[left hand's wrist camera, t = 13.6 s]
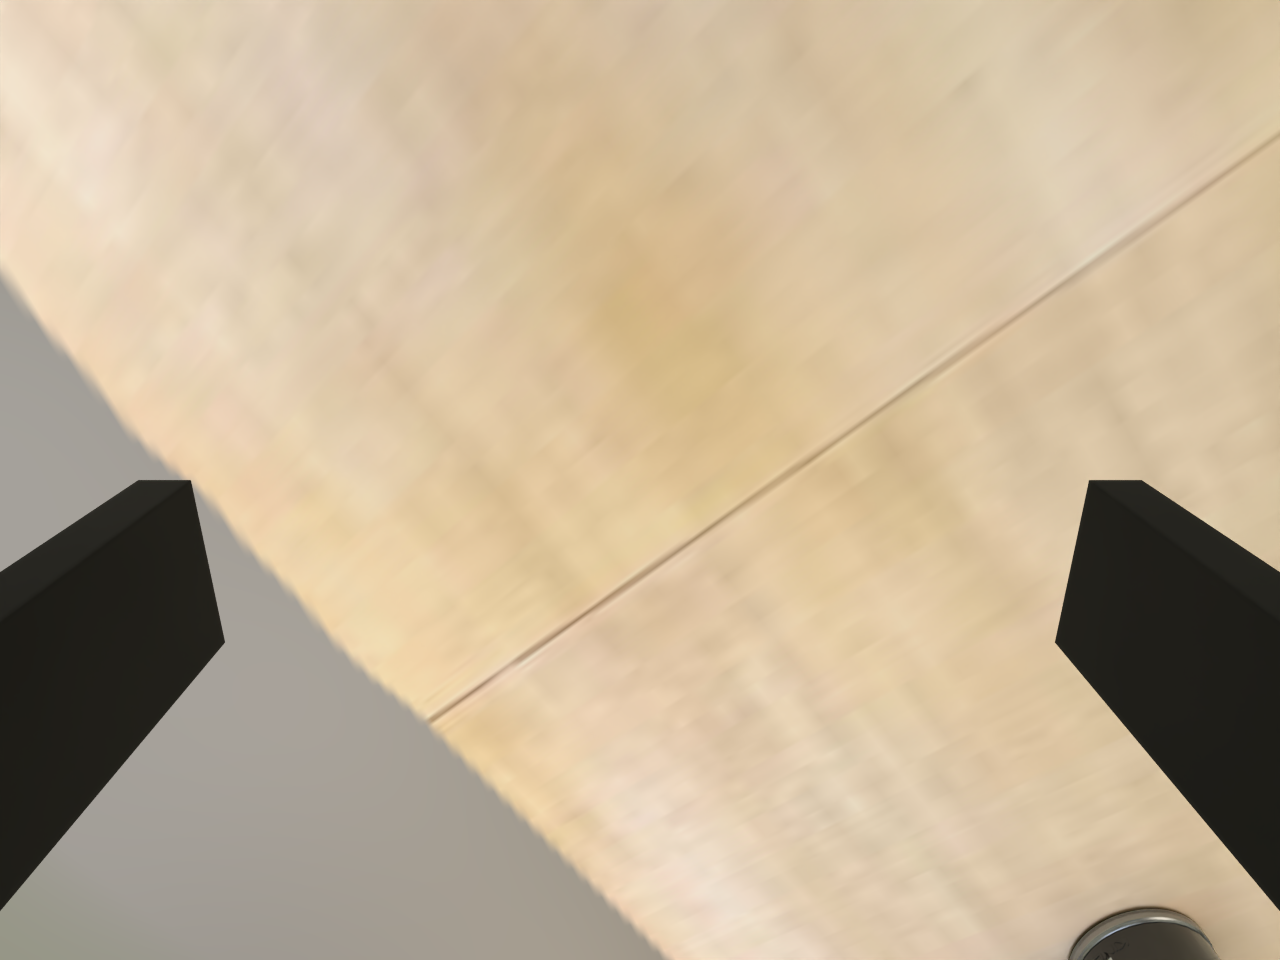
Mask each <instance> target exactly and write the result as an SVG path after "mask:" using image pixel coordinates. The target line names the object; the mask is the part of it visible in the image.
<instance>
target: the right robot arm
mask: <svg viewBox="0 0 1280 960" xmlns="http://www.w3.org/2000/svg"><path fill="white" fill-rule="evenodd" d="M1069 960H1221V959H1220V958H1219V957H1218V955H1217V954H1216V952H1215V951H1214V949H1213V947H1212V944H1211V943H1210V941H1209V940H1208V938H1207V937H1206V936H1205V934H1204V933H1203V931H1202V930H1201V929H1200V927H1199V926H1198V925H1197V924H1196V923H1195V922H1194V921H1192V920H1191V919H1190V918H1188V917H1186V916H1184V915H1182V914H1180V913H1177V912H1174V911H1169V910H1163V909H1140V910H1134V911H1129V912H1125V913H1122V914H1119V915H1116V916H1113V917H1111V918H1109V919H1107V920H1105V921H1103V922H1101V923H1099V924H1098V925H1096V926H1095V927H1093V928H1092V929H1091V930H1089V931H1088V932H1087V933H1086V934H1085V935H1084V936H1083V937H1082V938H1081V939H1080V940H1079V942H1078V943H1077V944H1076V946H1075V947H1074V949H1073V951H1072V953H1071V956H1070V959H1069Z"/></svg>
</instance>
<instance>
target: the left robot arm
mask: <svg viewBox="0 0 1280 960" xmlns="http://www.w3.org/2000/svg"><path fill="white" fill-rule="evenodd" d="M224 643H225V640H224V635H223V631H222V626H221V621H220V616H219V612H218V607H217V602H216V598H215V593H214V588H213V583H212V579H211V574H210V569H209V564H208V560H207V555H206V550H205V545H204V541H203V536H202V531H201V526H200V522H199V517H198V512H197V507H196V503H195V498H194V493H193V488H192V484H191V480H138V481H137V482H135V483H134V484H132V485H131V486H129V487H128V488H126V489H124V490H123V491H121V492H120V493H119V494H117V495H116V496H114V497H113V498H111V499H109V500H108V501H106V502H105V503H103V504H102V505H100V506H99V507H97V508H96V509H94V510H93V511H91V512H90V513H88V514H87V515H85V516H84V517H82V518H81V519H79V520H78V521H76V522H75V523H73V524H72V525H70V526H69V527H67V528H66V529H64V530H63V531H61V532H60V533H58V534H57V535H55V536H54V537H52V538H51V539H49V540H48V541H46V542H45V543H43V544H42V545H40V546H39V547H37V548H36V549H34V550H33V551H31V552H30V553H28V554H27V555H25V556H24V557H22V558H21V559H19V560H18V561H16V562H15V563H13V564H12V565H10V566H9V567H7V568H6V569H4V570H3V571H1V572H0V910H1V909H2V908H3V907H4V906H5V905H6V903H7V902H8V901H9V900H10V899H11V897H12V896H13V895H14V894H15V893H16V891H17V890H18V889H19V888H20V887H21V885H22V884H23V883H24V882H25V881H26V879H27V878H28V877H29V876H30V875H31V874H32V872H33V871H34V870H35V869H36V868H37V866H38V865H39V864H40V863H41V862H42V860H43V859H44V858H45V857H46V856H47V854H48V853H49V852H50V851H51V850H52V848H53V847H54V846H55V845H56V844H57V842H58V841H59V840H60V839H61V838H62V836H63V835H64V834H65V833H66V832H67V831H68V829H69V828H70V827H71V826H72V825H73V823H74V822H75V821H76V820H77V819H78V817H79V816H80V815H81V814H82V813H83V811H84V810H85V809H86V808H87V807H88V805H89V804H90V803H91V802H92V801H93V799H94V798H95V797H96V796H97V795H98V793H99V792H100V791H101V790H102V789H103V787H104V786H105V785H106V784H107V783H108V782H109V780H110V779H111V778H112V777H113V776H114V774H115V773H116V772H117V771H118V769H119V768H120V767H121V766H122V765H123V764H124V762H125V761H126V760H127V759H128V758H129V756H130V755H131V754H132V753H133V752H134V750H135V749H136V748H137V747H138V746H139V744H140V743H141V742H142V741H143V740H144V739H145V737H146V736H147V735H148V734H149V733H150V731H151V730H152V729H153V728H154V727H155V725H156V724H157V723H158V722H159V721H160V719H161V718H162V717H163V716H164V715H165V713H166V712H167V711H168V710H169V709H170V707H171V706H172V705H173V704H174V703H175V701H176V700H177V699H178V698H179V697H180V695H181V694H182V693H183V692H184V691H185V690H186V688H187V687H188V686H189V685H190V683H191V682H192V681H193V680H194V679H195V678H196V676H197V675H198V674H199V673H200V672H201V670H202V669H203V668H204V667H205V666H206V664H207V663H208V662H209V661H210V660H211V658H212V657H213V656H214V655H215V654H216V652H217V651H218V650H219V649H220V648H221V647H222V645H223V644H224ZM1055 643H1056V644H1057V645H1058V647H1059V648H1060V649H1061V650H1062V651H1063V652H1064V654H1065V655H1066V656H1067V657H1068V658H1069V660H1070V661H1071V662H1072V663H1073V664H1074V666H1075V667H1076V668H1077V669H1078V670H1079V672H1080V673H1081V674H1082V675H1083V676H1084V678H1085V679H1086V680H1087V681H1088V682H1089V684H1090V685H1091V686H1092V687H1093V688H1094V690H1095V691H1096V692H1097V693H1098V694H1099V696H1100V697H1101V698H1102V699H1103V700H1104V701H1105V703H1106V704H1107V705H1108V706H1109V707H1110V709H1111V710H1112V711H1113V712H1114V713H1115V715H1116V716H1117V717H1118V718H1119V719H1120V721H1121V722H1122V723H1123V724H1124V725H1125V727H1126V728H1127V729H1128V730H1129V731H1130V733H1131V734H1132V735H1133V736H1134V737H1135V739H1136V740H1137V741H1138V742H1139V743H1140V744H1141V746H1142V747H1143V748H1144V749H1145V750H1146V752H1147V753H1148V754H1149V755H1150V756H1151V758H1152V759H1153V760H1154V761H1155V762H1156V764H1157V765H1158V766H1159V767H1160V768H1161V770H1162V771H1163V772H1164V773H1165V774H1166V776H1167V777H1168V778H1169V779H1170V780H1171V782H1172V783H1173V784H1174V785H1175V786H1176V788H1177V789H1178V790H1179V791H1180V792H1181V793H1182V795H1183V796H1184V797H1185V798H1186V799H1187V801H1188V802H1189V803H1190V804H1191V805H1192V807H1193V808H1194V809H1195V810H1196V811H1197V813H1198V814H1199V815H1200V816H1201V817H1202V819H1203V820H1204V821H1205V822H1206V823H1207V825H1208V826H1209V827H1210V828H1211V829H1212V831H1213V832H1214V833H1215V834H1216V835H1217V836H1218V838H1219V839H1220V840H1221V841H1222V842H1223V844H1224V845H1225V846H1226V847H1227V848H1228V850H1229V851H1230V852H1231V853H1232V854H1233V856H1234V857H1235V858H1236V859H1237V860H1238V862H1239V863H1240V864H1241V865H1242V866H1243V868H1244V869H1245V870H1246V871H1247V872H1248V874H1249V875H1250V876H1251V877H1252V878H1253V879H1254V881H1255V882H1256V883H1257V884H1258V885H1259V887H1260V888H1261V889H1262V890H1263V891H1264V893H1265V894H1266V895H1267V896H1268V897H1269V899H1270V900H1271V901H1272V902H1273V903H1274V905H1275V906H1276V907H1277V908H1278V909H1279V911H1280V572H1279V571H1277V570H1276V569H1274V568H1273V567H1271V566H1270V565H1268V564H1267V563H1265V562H1264V561H1262V560H1261V559H1259V558H1258V557H1256V556H1255V555H1253V554H1252V553H1250V552H1249V551H1247V550H1246V549H1244V548H1243V547H1241V546H1240V545H1238V544H1237V543H1235V542H1234V541H1232V540H1231V539H1229V538H1228V537H1226V536H1225V535H1223V534H1222V533H1220V532H1219V531H1217V530H1216V529H1214V528H1213V527H1211V526H1210V525H1208V524H1207V523H1205V522H1204V521H1202V520H1201V519H1199V518H1198V517H1196V516H1195V515H1193V514H1192V513H1190V512H1189V511H1187V510H1186V509H1184V508H1183V507H1181V506H1180V505H1178V504H1177V503H1175V502H1174V501H1172V500H1171V499H1169V498H1168V497H1166V496H1165V495H1163V494H1162V493H1160V492H1159V491H1157V490H1156V489H1154V488H1153V487H1151V486H1149V485H1148V484H1146V483H1145V482H1143V481H1142V480H1089V484H1088V488H1087V493H1086V498H1085V503H1084V507H1083V512H1082V517H1081V522H1080V526H1079V531H1078V536H1077V541H1076V545H1075V550H1074V555H1073V560H1072V564H1071V569H1070V574H1069V579H1068V583H1067V588H1066V593H1065V597H1064V602H1063V607H1062V612H1061V616H1060V621H1059V626H1058V631H1057V635H1056V640H1055Z"/></svg>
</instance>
